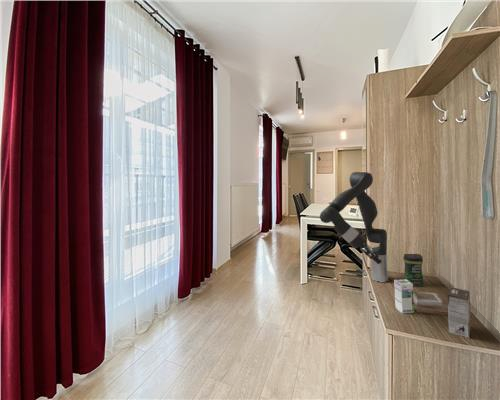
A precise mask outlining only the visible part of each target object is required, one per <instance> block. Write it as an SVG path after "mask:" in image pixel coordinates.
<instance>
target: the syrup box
mask: <svg viewBox="0 0 500 400" xmlns="http://www.w3.org/2000/svg"><path fill="white" fill-rule="evenodd" d="M393 283H394V301H395V309H397V310H398V311H399V312H400V313H401V314H415V308H414V297H413V291H414V286H413V283H411V282H410V281H408V280H406V279H404V278H403V279H394V282H393Z"/></svg>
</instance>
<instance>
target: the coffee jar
mask: <svg viewBox="0 0 500 400" xmlns="http://www.w3.org/2000/svg"><path fill="white" fill-rule="evenodd" d="M423 259H424V258H423V255H421V254H419V253H404V255H403V259H402V260H403V263H404V274H403V280H404V279H406V280H408V281H410V282H411V283H413V287H422V286H423V285H424V276H423V269H422V267H423V263H424V260H423Z"/></svg>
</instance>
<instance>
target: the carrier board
mask: <svg viewBox="0 0 500 400" xmlns="http://www.w3.org/2000/svg"><path fill="white" fill-rule="evenodd" d="M435 294H436V296H437V297H438V298H439V299H440V300H441V302H442V308H432V307H423V306H417V305H416V303H415V301H414V311H416V312H417V313H426V314H433V315H441V316H442V315H443V316H448V304H446V302H445V301H444V300H443V299H442V297H440V295H439V294H438V293H435ZM418 299H421V298H418ZM422 300H432V299H422ZM432 301H434V300H432Z"/></svg>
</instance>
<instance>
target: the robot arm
mask: <svg viewBox="0 0 500 400" xmlns="http://www.w3.org/2000/svg"><path fill="white" fill-rule="evenodd" d="M373 181H374V176H373V175H372V173H370V172H367V171H365V172H364V171H361V172H360V171H354V172H352V173H351V174H350V175H349V184H350V188H348V189H347V190H343V192H340V193H339V194H338V195H337V196H336V197H335V198H334V199H332V201H331V203H330V204H329V205H328V206H326V208H324V209H323V210H322V211H321V212H320V215H319V219H320V221H321V222H322V223H324V224H329V223H331V224H333V230H335V231H336V232H337V234H339V235H340V236H341V237H342V238H343V239H344V240H345V241H346V242H347V243H348V244H349V245H350V246H351V247H353V249H358V248H360V251H361V252H363V253H364V254H365V255H366V256H367V257H368V258H369V259H370V272H371V280H372V281H374V280H375V281H374V282H377V281H379V282H378V283H386V281H387V282H388V279H389V278H388V252H387V251H388V244H387V243H388V234H387V230H386V229H383V228H374V227H373V223H374V221H376V218H377V216H378V209H377V204H376V202H375V201H374V200H373V198H372V197H371V196H370V195H369V194H368V193H367V192H366V191H367V189H369V188H370V187H371V186H372V185H373ZM353 200H356V202H357V204H358V208H359V212H360V215H361V218H362V221H363V224H364V229H365V233H366V237H365V236H364V235H363V234H362V233H360V232H359V231H358V230H357V229H356V228H354V227H353V226H352V225H350V224H349V223H348V222H347V221H346V220H345V219H344V218H343V217H344V216H342V214H341V212H342V211H343V210H344V209H345V208H346V207H347V206H348V205H349V204H350V203H351V202H352V201H353ZM366 238H367V241H368V242H369V243H374V244H379V245H378V246H374V247H371V246H370V245H369V244H368V243H367V242H365V241H366Z"/></svg>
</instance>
